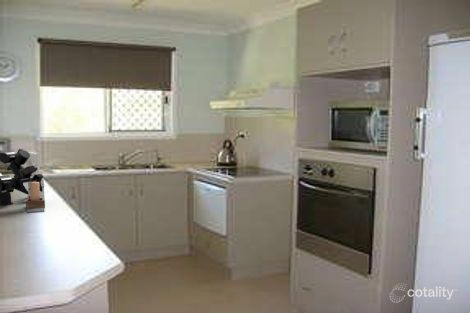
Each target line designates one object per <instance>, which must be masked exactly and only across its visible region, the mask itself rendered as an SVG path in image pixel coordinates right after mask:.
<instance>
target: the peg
mask: <svg viewBox="0 0 470 313" xmlns="http://www.w3.org/2000/svg"><path fill="white" fill-rule="evenodd" d="M30 197H31V201H37V200H40V189H39V182H30Z"/></svg>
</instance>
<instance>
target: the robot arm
mask: <svg viewBox="0 0 470 313" xmlns="http://www.w3.org/2000/svg"><path fill="white" fill-rule="evenodd" d="M27 151H28V150H25V149H24V148H18V150H17V152H14V151H3V150H0V162H1V163H2V164H3V165H4V164H5V165H6V164H9V165H7V167H6V171H7V172H9V171H11V173H12V174H13V177H11V176H10V175H9V174H5V175H4V174H2V173H1V172H0V206H8V205H12V204H14V202H13V201H12V195H11V194H12V193H14V190H16V191H18V192H20V193H23V194H26V195H28V194H29V193H28V188H26V186H25V185H24V184H28V182H39V189H40V191H41V192H42V191H43V190H42V186H41V180H42V179H44V176H43V173H39V174H36V175H34V176H33V178H31V176H32V173H34V172H36V170H37V167H36V166H35V165H32V166H28V167H26V166H25V167H24V165H26V162H27V160H28V159H29V157H30V153H28V152H29V151H28V152H27Z"/></svg>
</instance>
